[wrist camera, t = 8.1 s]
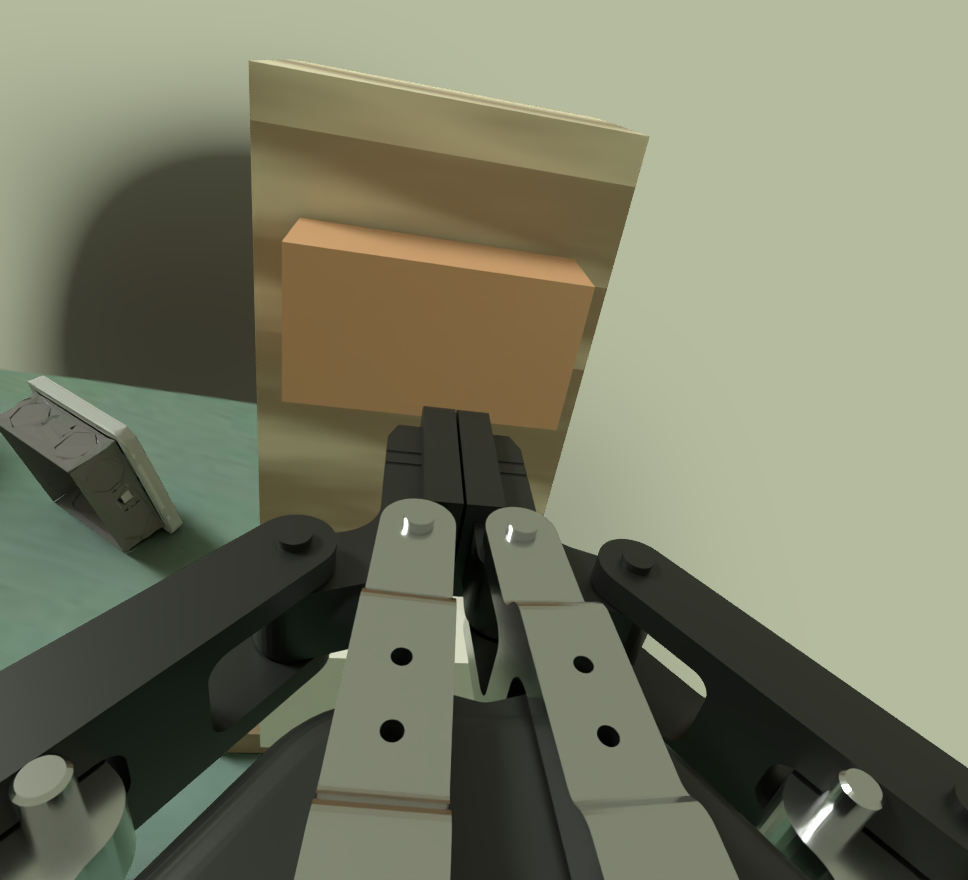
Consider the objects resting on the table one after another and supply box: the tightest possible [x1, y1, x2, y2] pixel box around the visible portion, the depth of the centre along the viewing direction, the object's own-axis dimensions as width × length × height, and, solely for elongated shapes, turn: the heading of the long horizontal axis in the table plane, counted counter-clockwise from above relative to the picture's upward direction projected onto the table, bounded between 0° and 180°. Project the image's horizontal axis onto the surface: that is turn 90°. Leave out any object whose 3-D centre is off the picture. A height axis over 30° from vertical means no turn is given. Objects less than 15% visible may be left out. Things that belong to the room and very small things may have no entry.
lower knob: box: [260, 596, 474, 747], centre depth 25 cm, size 8×9×5 cm
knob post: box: [225, 60, 649, 753], centre depth 28 cm, size 13×16×28 cm
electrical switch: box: [0, 376, 182, 553], centre depth 38 cm, size 9×5×9 cm, turn 59°
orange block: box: [282, 217, 595, 430], centre depth 22 cm, size 8×9×5 cm
